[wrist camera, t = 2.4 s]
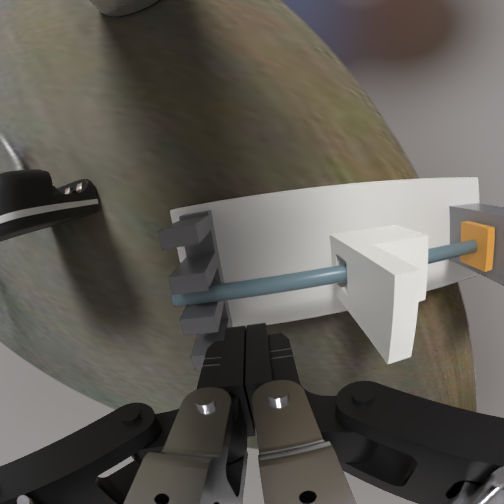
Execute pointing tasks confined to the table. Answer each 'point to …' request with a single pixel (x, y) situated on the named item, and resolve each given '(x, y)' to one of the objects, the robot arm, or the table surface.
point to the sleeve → (383, 284)
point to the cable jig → (315, 248)
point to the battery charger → (40, 202)
